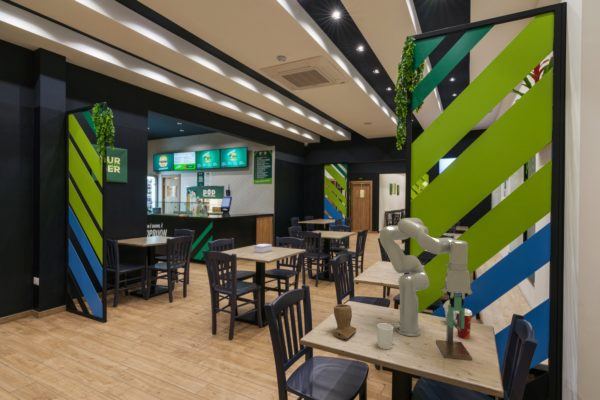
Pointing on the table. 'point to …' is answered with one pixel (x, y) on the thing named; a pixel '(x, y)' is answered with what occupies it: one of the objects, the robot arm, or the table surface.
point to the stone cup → (343, 321)
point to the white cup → (385, 335)
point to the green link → (456, 308)
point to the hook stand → (453, 345)
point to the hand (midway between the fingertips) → (456, 305)
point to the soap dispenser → (447, 310)
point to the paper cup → (465, 325)
